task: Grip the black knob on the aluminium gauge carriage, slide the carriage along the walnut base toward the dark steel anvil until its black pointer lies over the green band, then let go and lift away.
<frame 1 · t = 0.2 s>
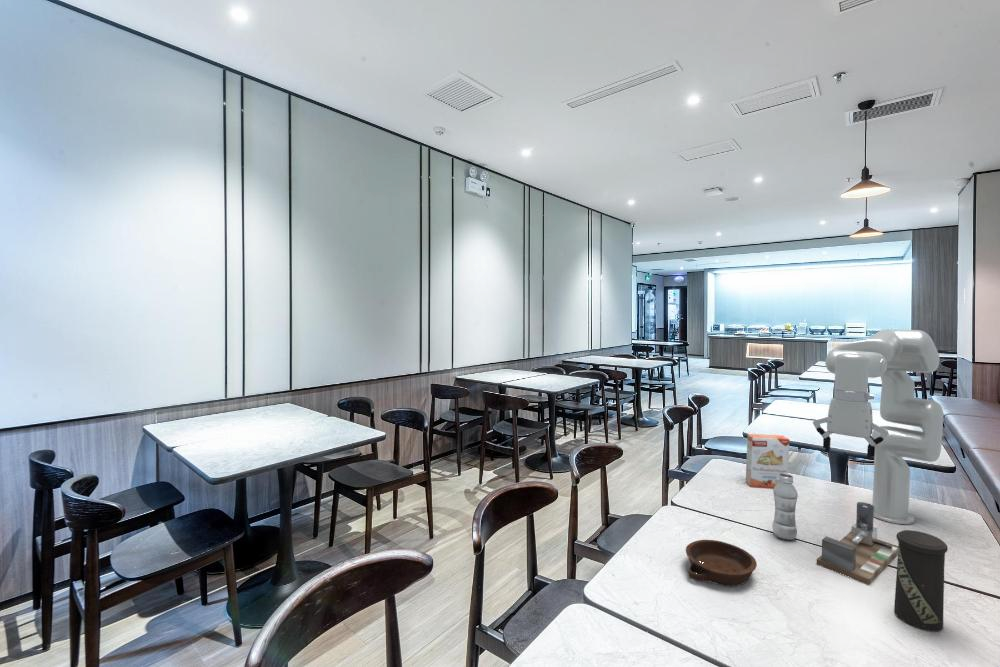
hand: (848, 454, 130), 30 cm above the table, tool pointing down, fingers open, 9 cm apart
plastic bottle: (784, 538, 142), on the table
dish: (719, 573, 124), on the table
gauge base: (859, 557, 131), on the table
gauge carriage: (871, 526, 134), point 7 cm above the table, slide at 0.0 cm
container: (917, 620, 105), on the table
cracker box: (766, 486, 184), on the table
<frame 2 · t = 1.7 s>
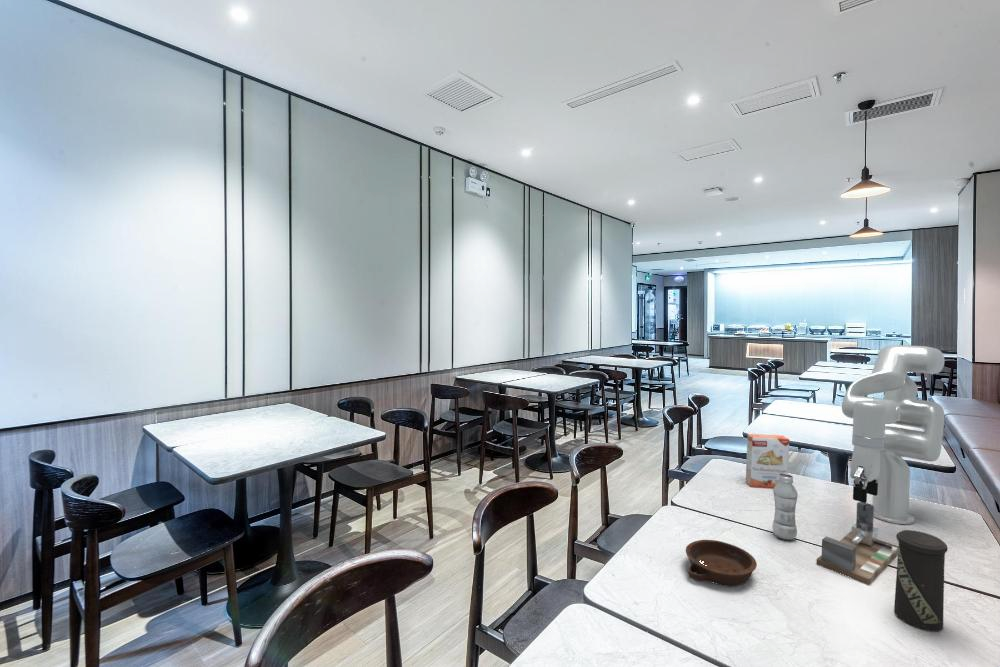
hand: (865, 497, 136), 15 cm above the table, tool pointing down, fingers open, 9 cm apart
nothing on the table moved.
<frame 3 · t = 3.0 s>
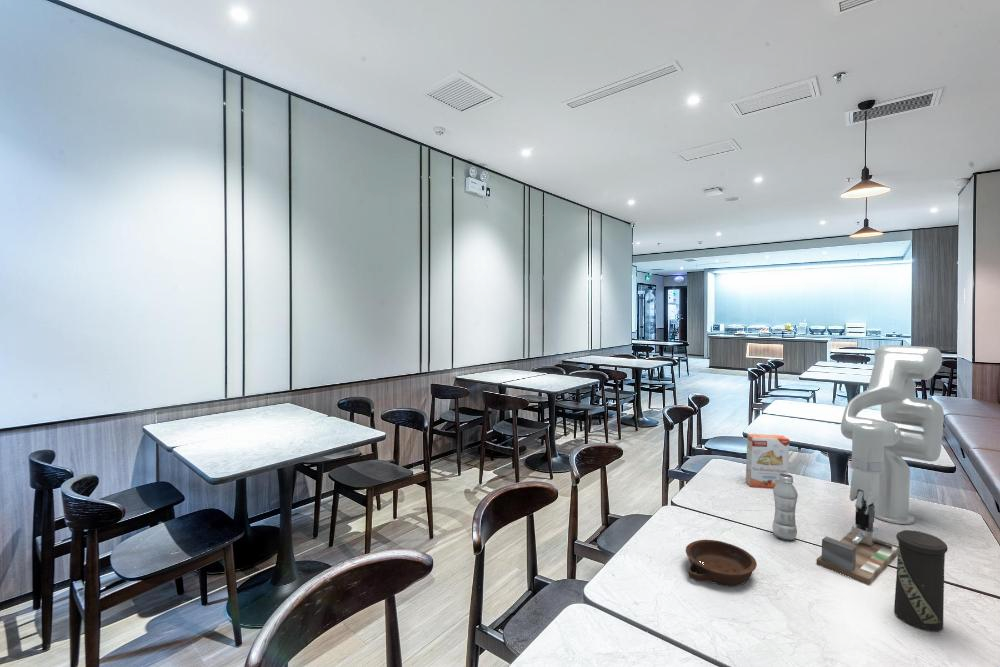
hand: (864, 522, 137), 7 cm above the table, tool pointing down, fingers closed on gauge carriage, 4 cm apart
gauge carriage: (871, 526, 134), point 7 cm above the table, slide at 0.0 cm, touching gripper
everything else where it was.
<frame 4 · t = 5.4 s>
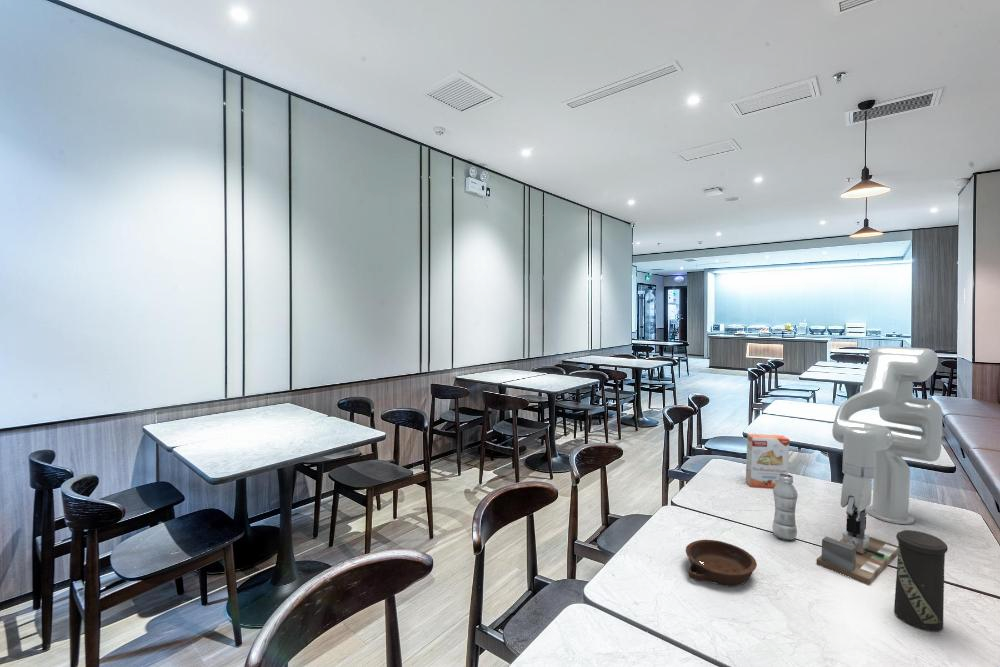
hand: (856, 529, 132), 7 cm above the table, tool pointing down, fingers closed on gauge carriage, 4 cm apart
gauge carriage: (863, 533, 130), point 7 cm above the table, slide at 7.4 cm, touching gripper
everything else where it was.
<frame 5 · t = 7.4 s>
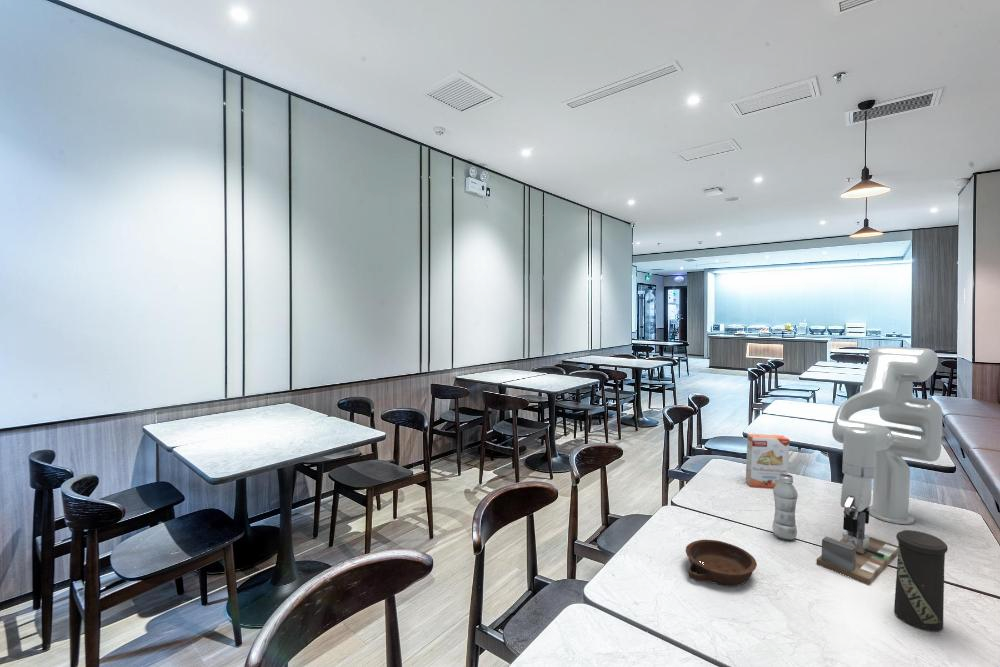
hand: (856, 526, 132), 8 cm above the table, tool pointing down, fingers open, 9 cm apart
gauge carriage: (863, 533, 130), point 7 cm above the table, slide at 7.5 cm
everything else where it was.
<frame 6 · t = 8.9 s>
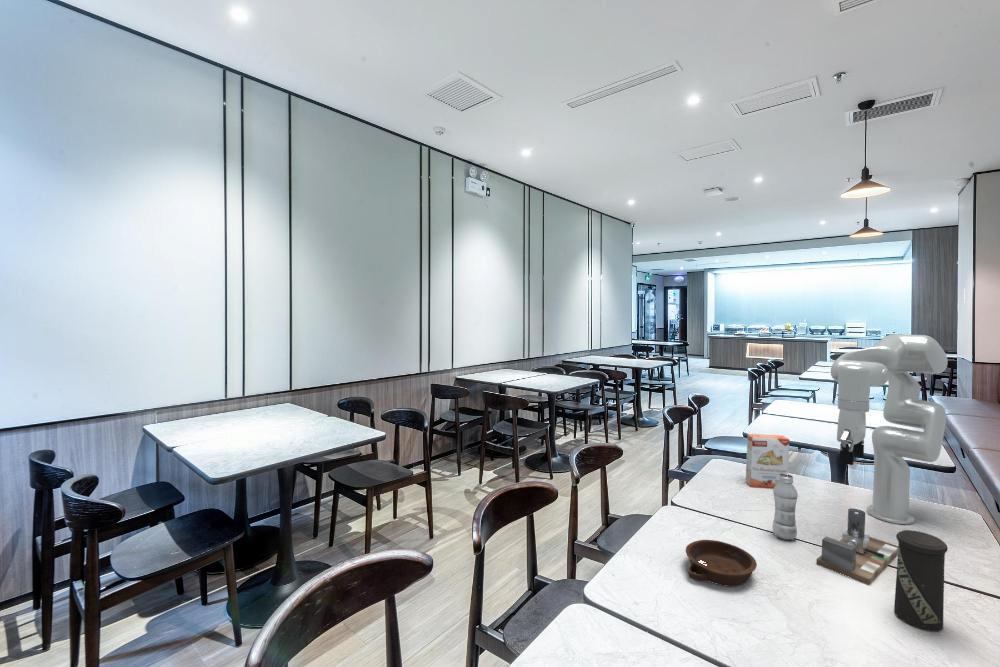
hand: (851, 459, 137), 26 cm above the table, tool pointing down, fingers open, 9 cm apart
nothing on the table moved.
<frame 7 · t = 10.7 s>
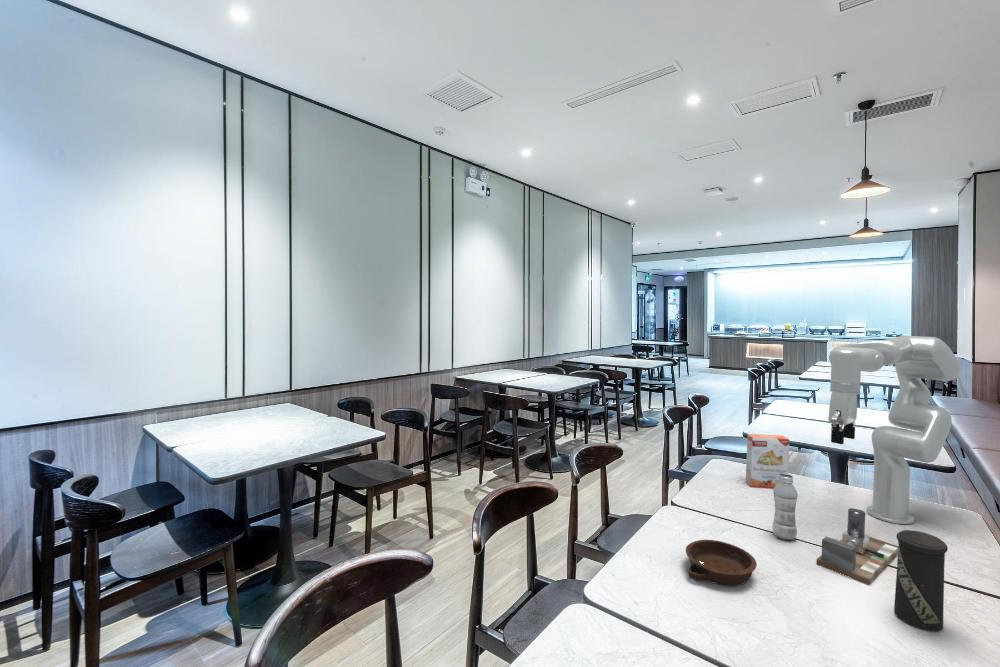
hand: (842, 440, 144), 30 cm above the table, tool pointing down, fingers open, 9 cm apart
nothing on the table moved.
at the end: gauge carriage slide at 7.5 cm; the gripper is holding nothing; plastic bottle moved 0.2 cm from its start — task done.
